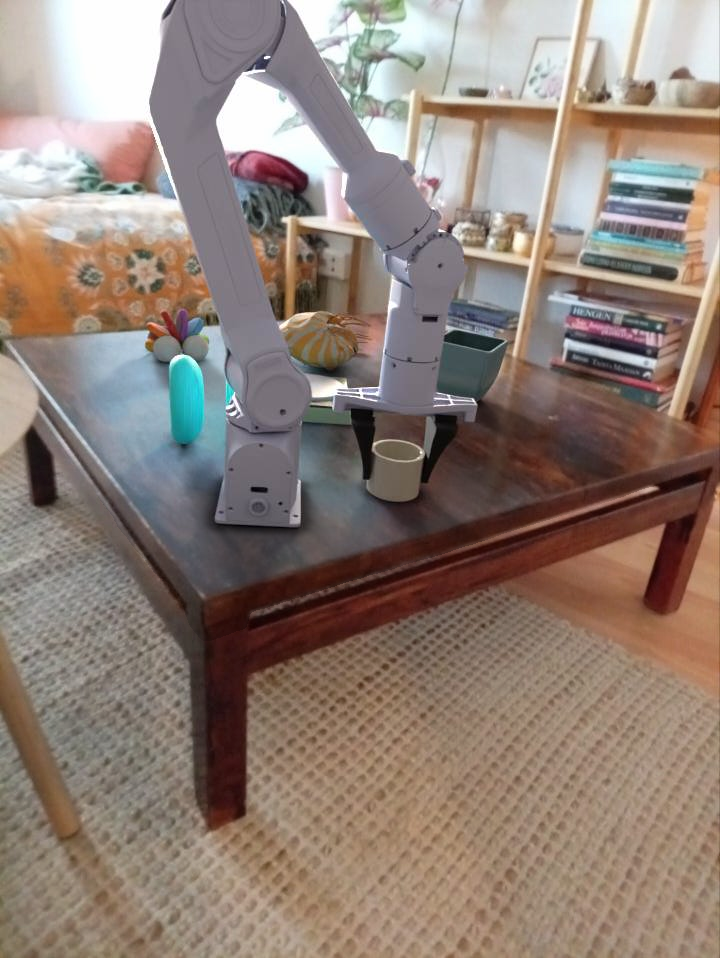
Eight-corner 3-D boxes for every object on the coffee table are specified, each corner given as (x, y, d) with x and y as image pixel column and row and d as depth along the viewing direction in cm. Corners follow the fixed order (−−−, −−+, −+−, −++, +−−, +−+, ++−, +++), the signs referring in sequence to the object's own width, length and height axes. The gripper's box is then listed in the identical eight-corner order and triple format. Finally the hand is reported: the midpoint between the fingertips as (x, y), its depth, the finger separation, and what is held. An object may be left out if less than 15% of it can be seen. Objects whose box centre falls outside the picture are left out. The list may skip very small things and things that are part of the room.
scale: (350, 425, 91) (352, 406, 90) (265, 419, 90) (265, 400, 89) (344, 391, 103) (346, 373, 101) (269, 385, 101) (269, 368, 100)
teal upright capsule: (263, 457, 80) (267, 372, 75) (172, 458, 77) (170, 371, 72) (252, 423, 88) (255, 345, 84) (169, 423, 85) (168, 343, 81)
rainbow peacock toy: (140, 348, 110) (139, 302, 107) (202, 347, 114) (202, 302, 111) (150, 365, 104) (149, 316, 100) (215, 363, 108) (216, 316, 104)
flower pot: (422, 398, 103) (431, 338, 99) (444, 384, 110) (453, 327, 106) (479, 413, 100) (491, 352, 96) (498, 397, 107) (509, 340, 103)
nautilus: (342, 344, 126) (405, 372, 118) (248, 353, 111) (312, 386, 103) (350, 300, 123) (415, 326, 114) (254, 303, 108) (321, 333, 99)
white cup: (422, 503, 74) (429, 463, 72) (368, 500, 73) (373, 460, 71) (414, 478, 79) (420, 441, 77) (364, 475, 78) (368, 437, 76)
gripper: (474, 348, 74) (453, 465, 80) (336, 337, 72) (325, 457, 78) (490, 369, 67) (466, 494, 73) (340, 357, 66) (328, 486, 72)
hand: (394, 477), depth 75 cm, fingers closed on white cup, 6 cm apart
